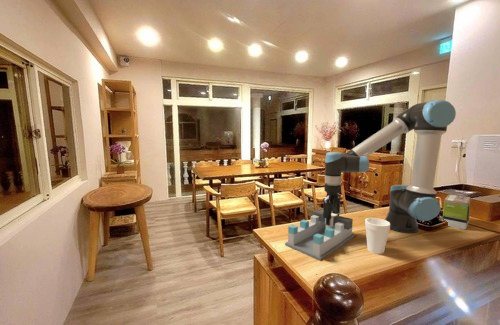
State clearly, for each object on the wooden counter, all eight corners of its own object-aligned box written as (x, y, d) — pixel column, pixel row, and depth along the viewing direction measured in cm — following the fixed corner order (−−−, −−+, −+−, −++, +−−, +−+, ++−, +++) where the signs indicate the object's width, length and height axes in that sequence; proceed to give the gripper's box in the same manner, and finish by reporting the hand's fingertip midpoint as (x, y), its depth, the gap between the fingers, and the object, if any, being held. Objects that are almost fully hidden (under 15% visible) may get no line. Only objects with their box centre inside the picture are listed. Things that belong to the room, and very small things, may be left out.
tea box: (446, 217, 137) (448, 193, 135) (469, 222, 130) (472, 197, 128) (441, 224, 127) (444, 198, 125) (466, 230, 120) (469, 202, 118)
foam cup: (383, 246, 104) (385, 218, 102) (391, 257, 95) (393, 226, 93) (361, 244, 106) (362, 217, 104) (366, 254, 97) (368, 225, 95)
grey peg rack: (354, 236, 114) (355, 218, 113) (320, 260, 92) (320, 239, 91) (321, 225, 127) (322, 210, 126) (285, 245, 106) (285, 226, 104)
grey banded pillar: (352, 227, 109) (352, 218, 109) (348, 230, 106) (348, 221, 106) (317, 217, 123) (317, 209, 123) (312, 219, 120) (312, 211, 120)
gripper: (334, 180, 121) (332, 222, 124) (316, 185, 109) (314, 232, 112) (348, 182, 115) (346, 226, 118) (330, 188, 104) (329, 237, 107)
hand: (331, 229), depth 115 cm, fingers closed on grey banded pillar, 5 cm apart
